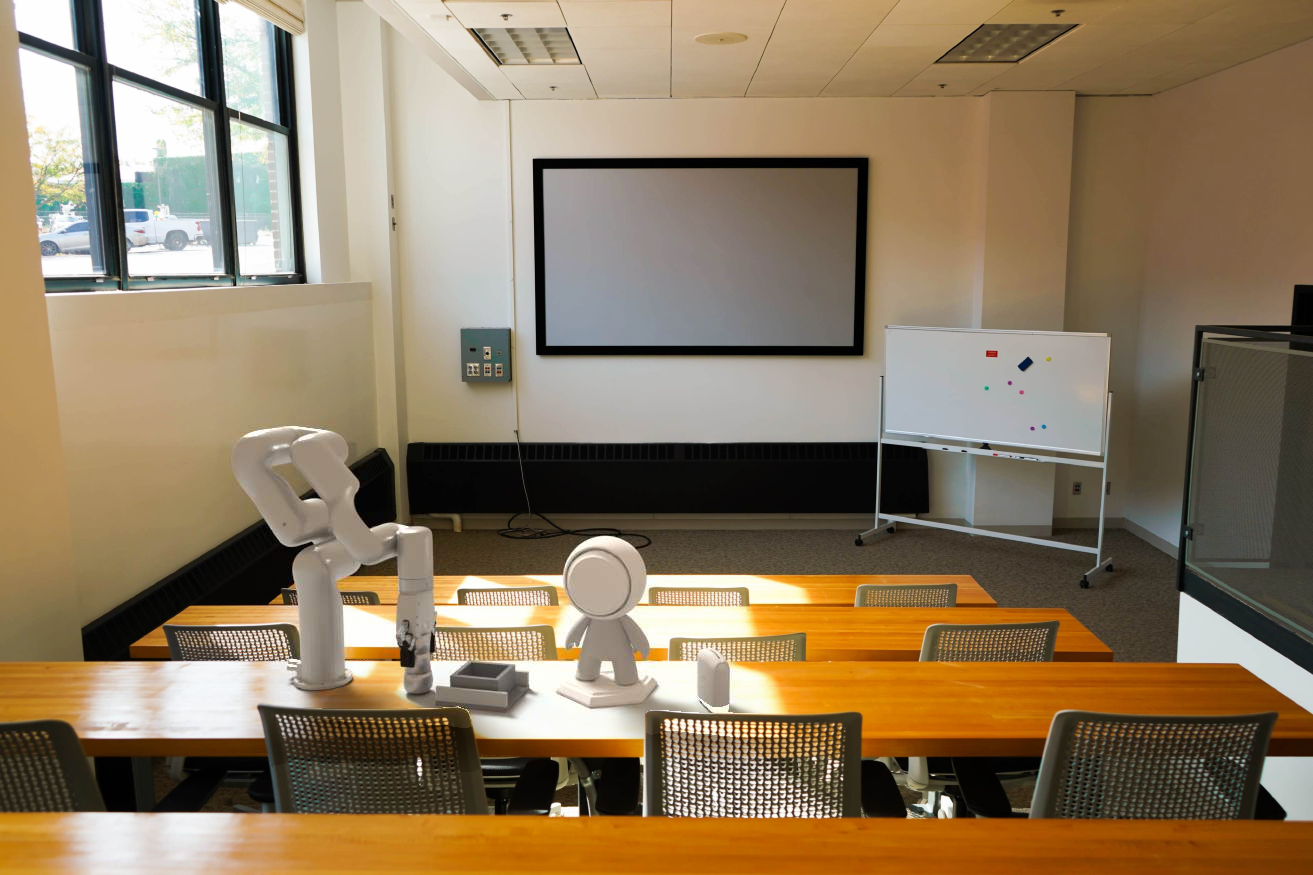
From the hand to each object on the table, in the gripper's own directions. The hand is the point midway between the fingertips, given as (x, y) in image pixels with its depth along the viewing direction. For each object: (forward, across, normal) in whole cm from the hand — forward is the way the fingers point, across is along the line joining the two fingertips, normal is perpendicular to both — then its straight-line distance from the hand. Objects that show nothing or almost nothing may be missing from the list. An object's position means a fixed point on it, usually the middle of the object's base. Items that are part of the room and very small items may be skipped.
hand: (418, 659), depth 214 cm
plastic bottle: (+8, 0, 0) cm, 8 cm away
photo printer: (+8, -8, +65) cm, 66 cm away
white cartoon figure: (+8, -12, +40) cm, 42 cm away
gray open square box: (+8, -1, +15) cm, 17 cm away
